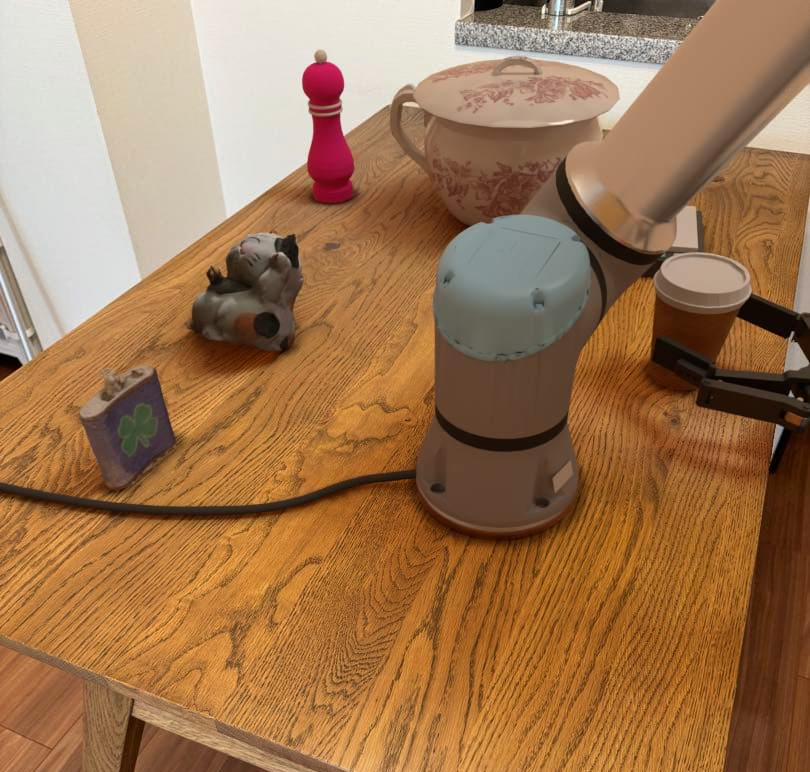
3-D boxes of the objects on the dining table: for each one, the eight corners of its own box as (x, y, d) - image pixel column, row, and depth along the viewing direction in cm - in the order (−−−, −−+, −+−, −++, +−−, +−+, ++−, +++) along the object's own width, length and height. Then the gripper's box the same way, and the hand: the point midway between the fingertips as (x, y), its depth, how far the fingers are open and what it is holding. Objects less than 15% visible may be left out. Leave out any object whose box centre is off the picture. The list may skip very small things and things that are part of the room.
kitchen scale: (575, 270, 103) (578, 247, 101) (584, 219, 114) (587, 197, 112) (700, 281, 101) (707, 257, 98) (697, 227, 111) (703, 205, 109)
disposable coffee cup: (726, 403, 82) (760, 299, 74) (633, 394, 84) (656, 291, 75) (719, 354, 89) (750, 253, 80) (633, 347, 90) (655, 247, 82)
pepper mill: (365, 191, 123) (356, 46, 109) (338, 208, 119) (325, 59, 105) (328, 183, 126) (315, 40, 112) (301, 199, 122) (283, 53, 107)
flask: (120, 495, 75) (84, 403, 67) (97, 486, 76) (59, 394, 68) (183, 441, 80) (156, 350, 73) (161, 433, 81) (132, 343, 74)
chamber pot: (641, 221, 113) (672, 58, 98) (492, 276, 103) (501, 104, 88) (517, 163, 130) (527, 16, 115) (378, 205, 119) (370, 50, 105)
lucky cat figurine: (180, 322, 97) (199, 204, 92) (275, 341, 102) (297, 231, 97) (195, 350, 84) (218, 215, 79) (302, 370, 89) (329, 245, 84)
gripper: (803, 511, 67) (612, 400, 79) (945, 399, 77) (758, 315, 89) (835, 443, 61) (625, 334, 73) (984, 332, 72) (779, 252, 84)
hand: (698, 324), depth 81 cm, fingers open, 13 cm apart
